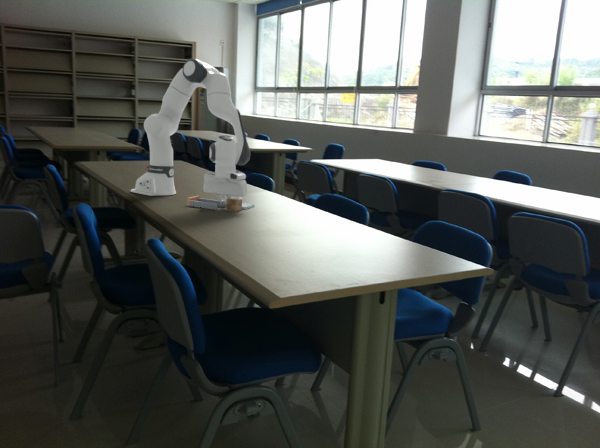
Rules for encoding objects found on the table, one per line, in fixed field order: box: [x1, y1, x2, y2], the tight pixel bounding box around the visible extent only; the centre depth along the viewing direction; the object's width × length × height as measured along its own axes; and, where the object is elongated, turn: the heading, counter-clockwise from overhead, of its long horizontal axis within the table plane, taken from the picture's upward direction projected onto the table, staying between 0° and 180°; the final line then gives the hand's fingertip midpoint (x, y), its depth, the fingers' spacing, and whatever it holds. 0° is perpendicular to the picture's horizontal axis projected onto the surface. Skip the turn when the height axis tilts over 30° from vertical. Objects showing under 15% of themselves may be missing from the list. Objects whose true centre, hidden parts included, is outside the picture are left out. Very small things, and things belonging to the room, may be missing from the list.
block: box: [225, 198, 243, 213], centre depth 228 cm, size 5×5×5 cm
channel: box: [187, 195, 226, 211], centre depth 233 cm, size 15×8×4 cm, turn 68°
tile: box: [242, 202, 255, 210], centre depth 237 cm, size 9×9×1 cm
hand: (224, 204), depth 230 cm, fingers closed
